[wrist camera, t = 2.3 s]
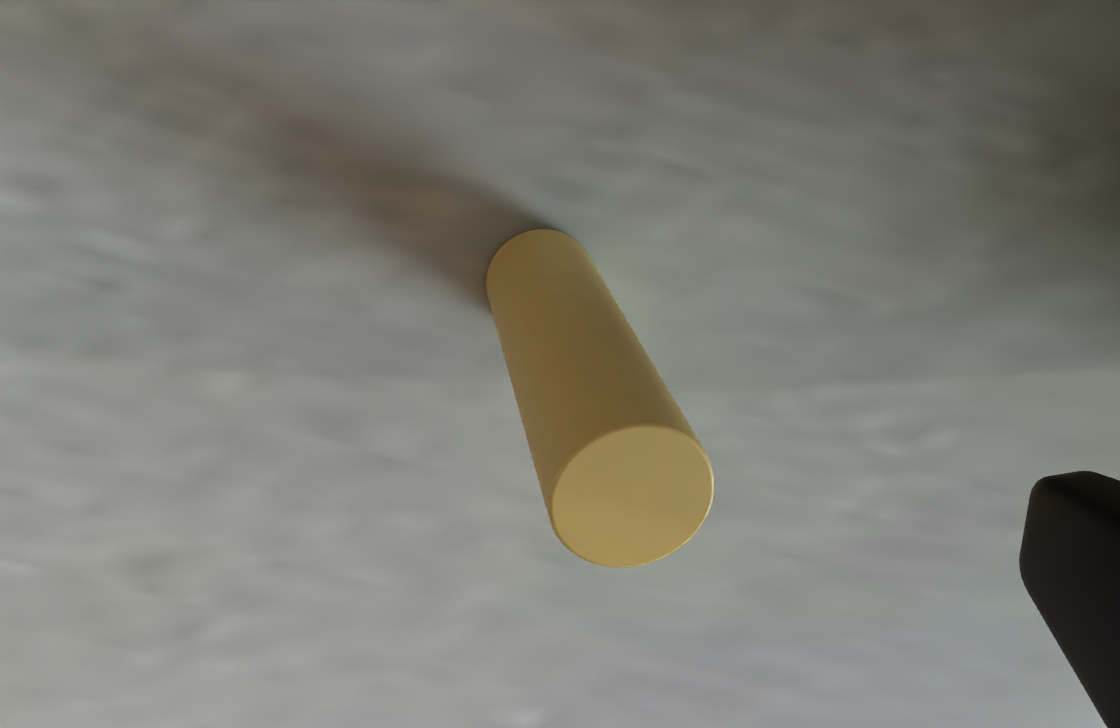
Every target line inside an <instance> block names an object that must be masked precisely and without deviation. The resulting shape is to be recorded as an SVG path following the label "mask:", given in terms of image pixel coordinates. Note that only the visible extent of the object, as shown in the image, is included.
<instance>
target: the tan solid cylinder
mask: <svg viewBox="0 0 1120 728" xmlns="http://www.w3.org/2000/svg"><path fill="white" fill-rule="evenodd" d="M486 290H487V295H488V299H489V303H490V306H491V310H492V313H493V317H494V321H495V324H496V328H497V332H498V335H499V339H500V342H501V346H502V350H503V353H504V357H505V360H506V364H507V368H508V371H509V375H510V379H511V382H512V386H513V389H514V393H515V397H516V400H517V404H518V407H519V411H520V415H521V418H522V422H523V426H524V429H525V433H526V436H527V440H528V444H529V447H530V451H531V454H532V458H533V462H534V465H535V469H536V472H537V476H538V480H539V483H540V487H541V491H542V494H543V498H544V501H545V505H546V509H547V512H548V516H549V519H550V522H551V525H552V528H553V530H554V532H555V534H556V535H557V537H558V538H559V540H560V541H561V542H562V543H563V544H564V545H565V546H566V547H567V548H568V549H569V550H570V551H572V552H573V553H574V554H576V555H577V556H579V557H581V558H582V559H584V560H586V561H589V562H592V563H594V564H598V565H602V566H607V567H633V566H639V565H644V564H647V563H650V562H653V561H656V560H659V559H661V558H663V557H665V556H667V555H669V554H671V553H672V552H674V551H676V550H677V549H678V548H680V547H681V546H682V545H684V544H685V543H686V542H687V541H688V540H689V539H690V538H691V537H692V536H693V535H694V534H695V533H696V532H697V531H698V529H699V528H700V526H701V525H702V523H703V522H704V520H705V518H706V516H707V514H708V512H709V510H710V507H711V504H712V500H713V495H714V484H715V483H714V473H713V469H712V465H711V462H710V460H709V458H708V456H707V454H706V452H705V451H704V449H703V447H702V446H701V444H700V442H699V441H698V439H697V437H696V435H695V434H694V432H693V430H692V429H691V427H690V425H689V424H688V422H687V420H686V419H685V417H684V415H683V414H682V412H681V410H680V408H679V407H678V405H677V403H676V402H675V400H674V398H673V397H672V395H671V393H670V392H669V390H668V388H667V387H666V385H665V383H664V382H663V380H662V378H661V376H660V375H659V373H658V371H657V370H656V368H655V366H654V365H653V363H652V361H651V360H650V358H649V356H648V355H647V353H646V351H645V349H644V348H643V346H642V344H641V343H640V341H639V339H638V338H637V336H636V334H635V333H634V331H633V329H632V328H631V326H630V324H629V322H628V321H627V319H626V317H625V316H624V314H623V312H622V311H621V309H620V307H619V306H618V304H617V302H616V301H615V299H614V297H613V295H612V294H611V292H610V290H609V289H608V287H607V285H606V284H605V282H604V280H603V279H602V277H601V275H600V274H599V272H598V270H597V269H596V267H595V265H594V263H593V262H592V260H591V258H590V257H589V255H588V253H587V252H586V250H585V249H584V248H583V247H582V245H581V244H580V243H579V242H577V241H576V240H575V239H574V238H572V237H571V236H569V235H567V234H565V233H562V232H559V231H555V230H550V229H536V230H531V231H527V232H524V233H521V234H519V235H517V236H515V237H513V238H512V239H510V240H509V241H507V242H506V243H505V244H504V245H503V246H502V247H501V248H500V249H499V250H498V251H497V253H496V254H495V255H494V257H493V259H492V261H491V263H490V265H489V268H488V272H487V277H486Z"/></svg>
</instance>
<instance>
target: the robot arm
mask: <svg viewBox="0 0 1120 728" xmlns="http://www.w3.org/2000/svg"><path fill="white" fill-rule="evenodd" d="M1019 563H1020V572H1021V577H1022V580H1023V582H1024V585H1025V587H1026V589H1027V591H1028V593H1029V595H1030V597H1031V598H1032V600H1033V602H1034V603H1035V605H1036V607H1037V609H1038V610H1039V612H1040V614H1041V615H1042V617H1043V619H1044V620H1045V622H1046V624H1047V626H1048V627H1049V629H1050V631H1051V632H1052V634H1053V636H1054V638H1055V639H1056V641H1057V643H1058V644H1059V646H1060V648H1061V649H1062V651H1063V653H1064V655H1065V656H1066V658H1067V660H1068V661H1069V663H1070V665H1071V667H1072V668H1073V670H1074V672H1075V673H1076V675H1077V677H1078V678H1079V680H1080V682H1081V684H1082V685H1083V687H1084V689H1085V690H1086V692H1087V694H1088V696H1089V697H1090V699H1091V701H1092V702H1093V704H1094V706H1095V707H1096V709H1097V711H1098V713H1099V714H1100V716H1101V718H1102V719H1103V721H1104V723H1105V724H1106V726H1107V728H1120V481H1119V480H1116V479H1113V478H1110V477H1107V476H1104V475H1102V474H1099V473H1095V472H1092V471H1077V472H1071V473H1065V474H1059V475H1053V476H1047V477H1044V478H1042V479H1040V480H1039V481H1037V482H1036V484H1035V485H1034V487H1033V488H1032V490H1031V494H1030V499H1029V505H1028V510H1027V516H1026V522H1025V528H1024V533H1023V539H1022V545H1021V551H1020V559H1019Z"/></svg>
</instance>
